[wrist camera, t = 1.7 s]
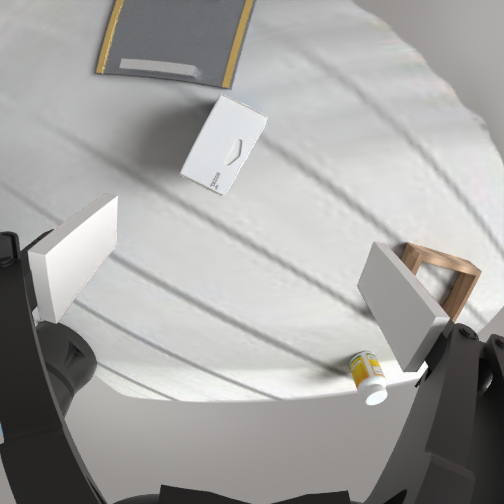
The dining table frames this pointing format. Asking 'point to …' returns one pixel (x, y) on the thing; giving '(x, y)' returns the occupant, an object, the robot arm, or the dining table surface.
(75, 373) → the robot arm
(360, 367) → the supplement bottle
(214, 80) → the grey tray
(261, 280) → the dining table surface
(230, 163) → the ink box
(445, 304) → the stand
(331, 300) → the dining table surface
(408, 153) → the dining table surface
